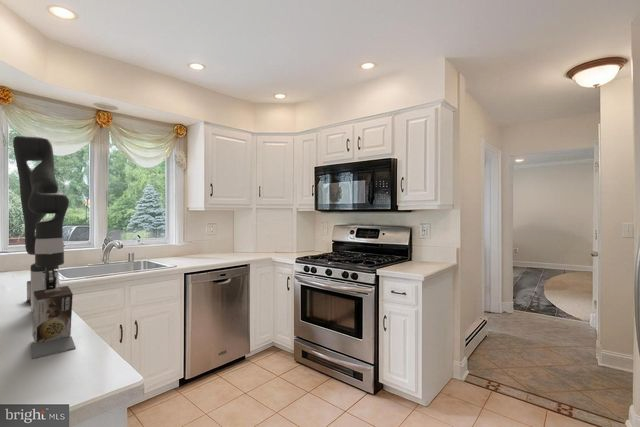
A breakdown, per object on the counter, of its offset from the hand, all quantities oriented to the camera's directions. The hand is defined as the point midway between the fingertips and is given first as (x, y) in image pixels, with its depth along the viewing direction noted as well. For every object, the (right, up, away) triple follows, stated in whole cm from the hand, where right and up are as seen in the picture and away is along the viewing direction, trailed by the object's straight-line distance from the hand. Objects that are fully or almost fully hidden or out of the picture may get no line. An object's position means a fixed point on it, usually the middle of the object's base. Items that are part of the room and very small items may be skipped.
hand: (50, 302), depth 108 cm
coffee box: (+2, -11, -2) cm, 11 cm away
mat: (+8, -12, -9) cm, 17 cm away
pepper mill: (-40, -12, +43) cm, 60 cm away
